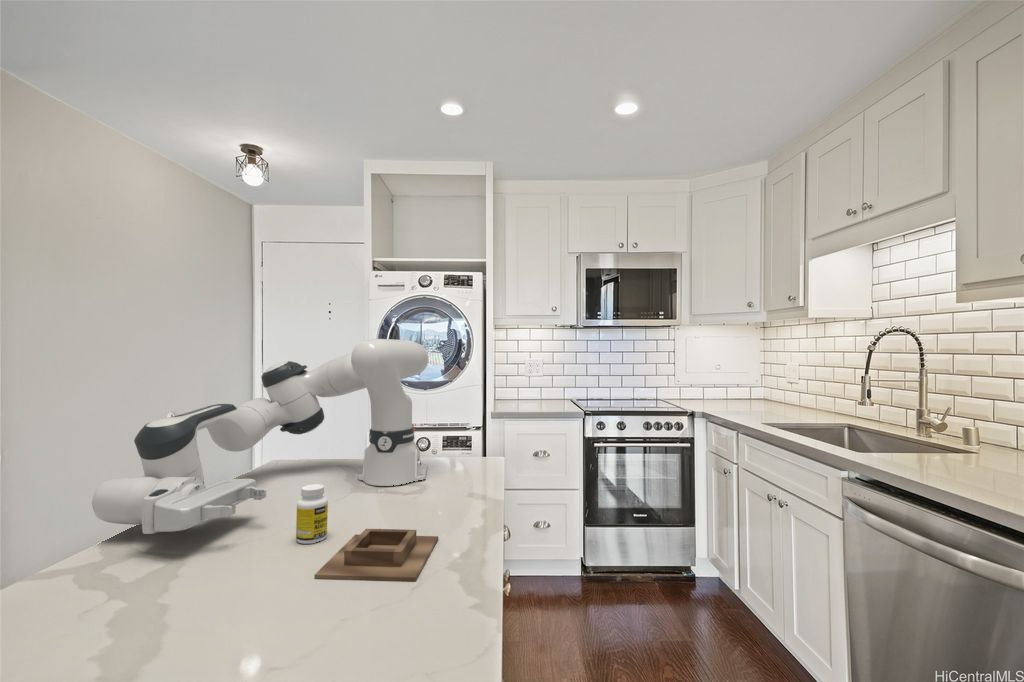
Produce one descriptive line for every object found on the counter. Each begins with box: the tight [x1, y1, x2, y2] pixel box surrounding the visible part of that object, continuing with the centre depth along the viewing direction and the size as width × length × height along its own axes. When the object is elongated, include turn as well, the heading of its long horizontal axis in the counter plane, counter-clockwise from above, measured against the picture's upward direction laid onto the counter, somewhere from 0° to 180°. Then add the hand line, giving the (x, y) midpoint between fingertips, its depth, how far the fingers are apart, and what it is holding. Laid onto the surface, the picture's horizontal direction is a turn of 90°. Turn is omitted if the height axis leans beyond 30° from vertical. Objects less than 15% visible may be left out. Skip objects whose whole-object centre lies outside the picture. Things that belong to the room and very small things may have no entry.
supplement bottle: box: [295, 483, 329, 545], centre depth 88 cm, size 5×5×10 cm
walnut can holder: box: [314, 528, 439, 582], centre depth 80 cm, size 16×16×3 cm
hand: (249, 502), depth 88 cm, fingers open, 8 cm apart
